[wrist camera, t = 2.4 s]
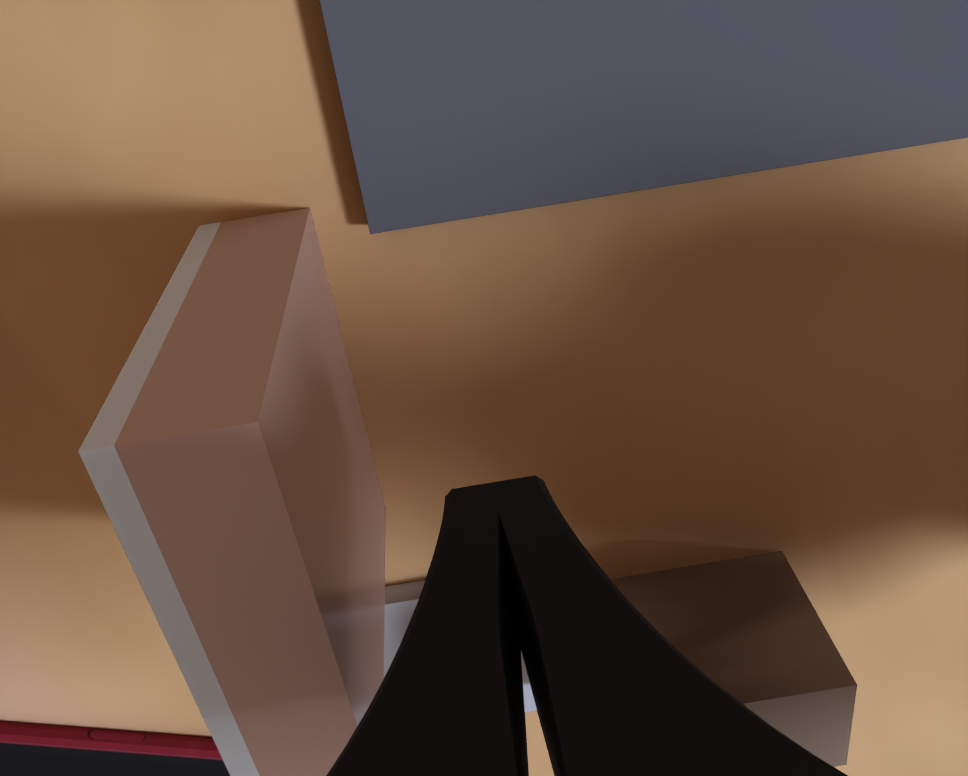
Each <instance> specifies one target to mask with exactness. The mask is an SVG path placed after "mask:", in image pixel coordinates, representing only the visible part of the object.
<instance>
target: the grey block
mask: <svg viewBox="0 0 968 776" xmlns="http://www.w3.org/2000/svg"><path fill="white" fill-rule="evenodd" d="M611 581H612V582H613V583H614V585H615V586H616V587H617V588H618V589H619V590H620V592H621V593H622V594H623V595H624V596H625V597H626V598H627V599H628V600H629V601H630V603H631V604H632V605H633V606H634V607H635V608H636V609H637V610H638V611H639V612H640V613H641V615H642V616H643V617H644V618H645V619H646V620H647V621H648V622H649V623H650V624H651V625H652V626H653V627H654V628H655V629H656V630H657V631H658V632H659V633H660V634H661V635H662V636H663V637H664V638H665V639H666V640H668V641H669V642H670V643H671V644H672V645H673V646H674V647H675V648H676V649H677V650H678V651H679V652H680V653H681V654H682V655H684V656H685V657H686V658H687V659H688V660H689V661H690V662H692V663H693V664H694V665H695V666H696V667H697V668H698V669H700V670H701V671H702V672H703V673H704V674H705V675H707V676H708V677H709V678H710V679H711V680H712V681H714V682H715V683H716V684H717V685H719V686H720V687H721V688H723V689H724V690H725V691H727V692H728V693H729V694H730V695H732V696H733V697H734V698H736V699H737V700H738V701H740V702H741V703H742V704H743V705H745V706H746V707H747V708H749V709H750V710H751V711H753V712H754V713H755V714H757V715H758V716H759V717H760V718H762V719H763V720H764V721H766V722H767V723H768V724H770V725H771V726H772V727H774V728H775V729H777V730H778V731H780V732H781V733H783V734H784V735H786V736H787V737H789V738H790V739H791V740H793V741H794V742H796V743H797V744H799V745H800V746H802V747H803V748H805V749H806V750H808V751H809V752H811V753H812V754H814V755H815V756H817V757H818V758H820V759H822V760H823V761H825V762H826V763H828V764H830V765H831V766H833V767H834V766H840V765H846V763H847V755H848V748H849V740H850V733H851V726H852V718H853V711H854V703H855V696H856V689H857V684H856V682H855V681H854V679H853V677H852V675H851V673H850V672H849V670H848V668H847V666H846V665H845V663H844V661H843V659H842V657H841V656H840V654H839V652H838V650H837V649H836V647H835V645H834V643H833V641H832V640H831V638H830V636H829V634H828V633H827V631H826V629H825V627H824V625H823V624H822V622H821V620H820V618H819V616H818V615H817V613H816V611H815V609H814V608H813V606H812V604H811V602H810V600H809V599H808V597H807V595H806V593H805V592H804V590H803V588H802V586H801V584H800V583H799V581H798V579H797V577H796V576H795V574H794V572H793V570H792V568H791V567H790V565H789V563H788V561H787V559H786V558H785V556H784V554H783V552H776V553H770V554H763V555H757V556H751V557H745V558H739V559H733V560H727V561H721V562H715V563H709V564H702V565H696V566H690V567H684V568H678V569H672V570H666V571H660V572H654V573H648V574H642V575H635V576H629V577H623V578H617V579H611ZM424 583H425V580H422V581H416V582H410V583H404V584H398V585H392V586H386V587H385V615H384V677H385V675H386V673H387V671H388V669H389V667H390V665H391V663H392V661H393V659H394V657H395V655H396V652H397V650H398V648H399V646H400V644H401V641H402V639H403V636H404V634H405V632H406V629H407V627H408V624H409V622H410V620H411V617H412V615H413V612H414V610H415V608H416V605H417V603H418V600H419V597H420V594H421V592H422V589H423V586H424ZM518 636H519V635H518ZM521 661H522V677H523V692H524V708H525V712H532V711H537V708H536V704H535V701H534V697H533V693H532V690H531V686H530V682H529V678H528V675H527V671H526V667H525V663H524V660H523V656H522V652H521Z"/></svg>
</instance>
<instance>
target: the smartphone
mask: <svg viewBox="0 0 968 776" xmlns="http://www.w3.org/2000/svg"><path fill="white" fill-rule="evenodd" d="M0 776H230V774H229V772H228V770H227V768H226V765H225V763H224V761H223V759H222V757H221V755H220V753H219V751H218V748H217V746H216V744H215V742H214V740H213V738H206V737H194V736H182V735H169V734H157V733H145V732H133V731H120V730H107V729H94V728H81V727H68V726H56V725H43V724H30V723H17V722H4V721H0Z"/></svg>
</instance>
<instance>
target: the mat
mask: <svg viewBox="0 0 968 776" xmlns="http://www.w3.org/2000/svg"><path fill="white" fill-rule="evenodd" d="M320 4H321V9H322V13H323V18H324V23H325V27H326V32H327V36H328V41H329V46H330V50H331V55H332V59H333V64H334V69H335V73H336V78H337V82H338V87H339V92H340V96H341V101H342V105H343V110H344V115H345V119H346V124H347V129H348V133H349V138H350V142H351V147H352V152H353V156H354V161H355V165H356V170H357V175H358V179H359V184H360V188H361V193H362V198H363V202H364V207H365V211H366V216H367V221H368V225H369V230H370V234H374V233H380V232H386V231H392V230H399V229H405V228H411V227H417V226H423V225H429V224H436V223H442V222H448V221H454V220H460V219H467V218H473V217H479V216H485V215H491V214H497V213H504V212H510V211H516V210H522V209H528V208H534V207H541V206H547V205H553V204H559V203H565V202H572V201H578V200H584V199H590V198H596V197H602V196H609V195H615V194H621V193H627V192H633V191H640V190H646V189H652V188H658V187H664V186H670V185H677V184H683V183H689V182H695V181H701V180H707V179H714V178H720V177H726V176H732V175H738V174H745V173H751V172H757V171H763V170H769V169H775V168H782V167H788V166H794V165H800V164H806V163H812V162H819V161H825V160H831V159H837V158H843V157H850V156H856V155H862V154H868V153H874V152H880V151H887V150H893V149H899V148H905V147H911V146H917V145H924V144H930V143H936V142H942V141H948V140H955V139H961V138H967V137H968V0H320Z"/></svg>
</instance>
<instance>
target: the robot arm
mask: <svg viewBox="0 0 968 776" xmlns="http://www.w3.org/2000/svg"><path fill="white" fill-rule="evenodd" d="M518 635H519V636H518ZM521 652H522V656H523V660H524V663H525V667H526V671H527V675H528V678H529V682H530V686H531V690H532V693H533V697H534V701H535V704H536V708H537V712H538V716H539V719H540V723H541V727H542V730H543V734H544V738H545V742H546V745H547V749H548V753H549V756H550V760H551V764H552V768H553V771H554V775H555V776H847V775H846V774H844V773H842V772H841V771H839V770H837V769H836V768H834V767H833V766H831V765H830V764H828V763H826V762H825V761H823V760H822V759H820V758H818V757H817V756H815V755H814V754H812V753H811V752H809V751H808V750H806V749H805V748H803V747H802V746H800V745H799V744H797V743H796V742H794V741H793V740H791V739H790V738H789V737H787V736H786V735H784V734H783V733H781V732H780V731H778V730H777V729H775V728H774V727H772V726H771V725H770V724H768V723H767V722H766V721H764V720H763V719H762V718H760V717H759V716H758V715H757V714H755V713H754V712H753V711H751V710H750V709H749V708H747V707H746V706H745V705H743V704H742V703H741V702H740V701H738V700H737V699H736V698H734V697H733V696H732V695H730V694H729V693H728V692H727V691H725V690H724V689H723V688H721V687H720V686H719V685H717V684H716V683H715V682H714V681H712V680H711V679H710V678H709V677H708V676H707V675H705V674H704V673H703V672H702V671H701V670H700V669H698V668H697V667H696V666H695V665H694V664H693V663H692V662H690V661H689V660H688V659H687V658H686V657H685V656H684V655H682V654H681V653H680V652H679V651H678V650H677V649H676V648H675V647H674V646H673V645H672V644H671V643H670V642H669V641H668V640H666V639H665V638H664V637H663V636H662V635H661V634H660V633H659V632H658V631H657V630H656V629H655V628H654V627H653V626H652V625H651V624H650V623H649V622H648V621H647V620H646V619H645V618H644V617H643V616H642V615H641V613H640V612H639V611H638V610H637V609H636V608H635V607H634V606H633V605H632V604H631V603H630V601H629V600H628V599H627V598H626V597H625V596H624V595H623V594H622V593H621V592H620V590H619V589H618V588H617V587H616V586H615V585H614V583H613V582H612V581H611V580H610V579H609V578H608V576H607V575H606V574H605V573H604V571H603V570H602V569H601V568H600V566H599V565H598V564H597V563H596V561H595V560H594V559H593V557H592V556H591V555H590V554H589V552H588V551H587V550H586V549H585V547H584V546H583V545H582V543H581V542H580V540H579V539H578V538H577V536H576V535H575V534H574V532H573V531H572V529H571V528H570V526H569V525H568V523H567V522H566V520H565V519H564V517H563V516H562V514H561V512H560V511H559V509H558V508H557V506H556V504H555V502H554V501H553V499H552V497H551V495H550V493H549V491H548V489H547V487H546V485H545V482H544V481H543V480H542V479H540V478H539V477H537V476H529V477H523V478H517V479H511V480H505V481H499V482H493V483H487V484H481V485H475V486H468V487H462V488H456V489H452V490H451V491H450V492H449V493H448V494H447V495H446V496H445V506H444V513H443V519H442V524H441V528H440V533H439V537H438V540H437V544H436V548H435V551H434V555H433V558H432V561H431V565H430V568H429V571H428V574H427V577H426V580H425V583H424V586H423V589H422V592H421V594H420V597H419V600H418V603H417V605H416V608H415V610H414V612H413V615H412V617H411V620H410V622H409V624H408V627H407V629H406V632H405V634H404V636H403V639H402V641H401V644H400V646H399V648H398V650H397V652H396V655H395V657H394V659H393V661H392V663H391V665H390V667H389V669H388V671H387V673H386V675H385V677H384V679H383V681H382V683H381V685H380V687H379V689H378V691H377V693H376V694H375V696H374V698H373V700H372V702H371V704H370V706H369V707H368V709H367V711H366V712H365V714H364V716H363V718H362V719H361V721H360V723H359V724H358V726H357V728H356V729H355V731H354V733H353V734H352V736H351V738H350V740H349V741H348V743H347V745H346V746H345V748H344V749H343V751H342V752H341V754H340V756H339V757H338V759H337V760H336V762H335V763H334V765H333V766H332V768H331V769H330V771H329V772H328V774H327V775H326V776H529V773H528V757H527V741H526V725H525V708H524V692H523V677H522V661H521Z"/></svg>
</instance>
